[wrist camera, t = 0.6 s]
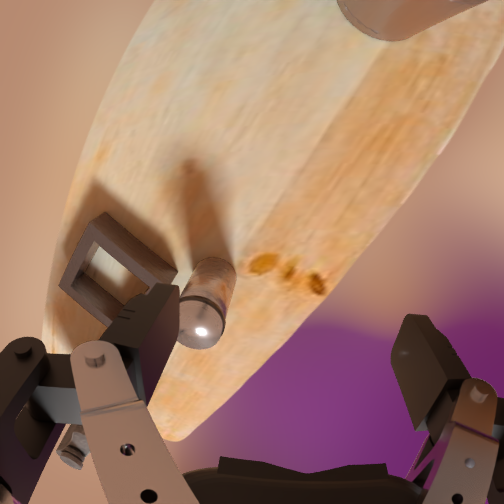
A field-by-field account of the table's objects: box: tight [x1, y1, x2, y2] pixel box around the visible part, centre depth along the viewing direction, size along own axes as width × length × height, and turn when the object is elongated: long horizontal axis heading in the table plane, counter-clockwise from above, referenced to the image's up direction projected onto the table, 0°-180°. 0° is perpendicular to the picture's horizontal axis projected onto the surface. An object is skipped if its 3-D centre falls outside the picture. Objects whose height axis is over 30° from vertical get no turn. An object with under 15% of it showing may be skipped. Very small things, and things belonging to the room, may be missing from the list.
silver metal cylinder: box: [177, 257, 236, 349], centre depth 32 cm, size 5×5×10 cm
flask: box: [56, 424, 90, 470], centre depth 38 cm, size 4×14×18 cm, turn 140°
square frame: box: [59, 212, 178, 327], centre depth 36 cm, size 11×11×4 cm
